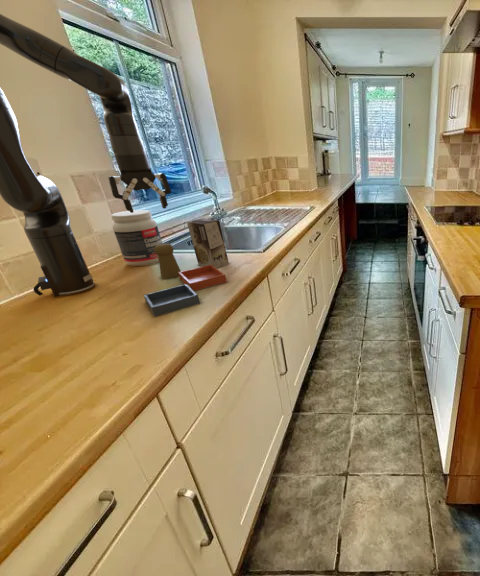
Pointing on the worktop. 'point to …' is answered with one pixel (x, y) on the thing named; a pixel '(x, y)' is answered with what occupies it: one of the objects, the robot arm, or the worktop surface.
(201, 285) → the terracotta tray
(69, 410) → the worktop surface
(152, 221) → the supplement tub
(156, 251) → the cork
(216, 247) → the coffee box
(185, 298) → the slate tray
